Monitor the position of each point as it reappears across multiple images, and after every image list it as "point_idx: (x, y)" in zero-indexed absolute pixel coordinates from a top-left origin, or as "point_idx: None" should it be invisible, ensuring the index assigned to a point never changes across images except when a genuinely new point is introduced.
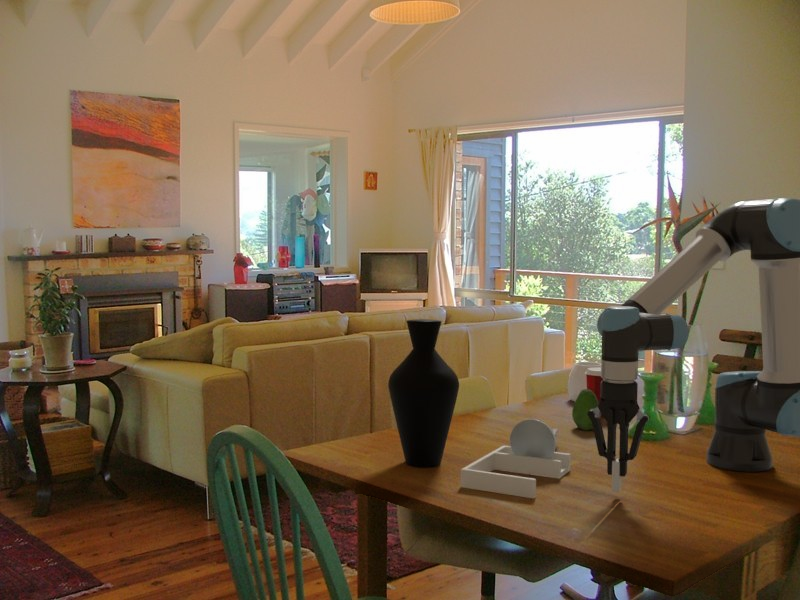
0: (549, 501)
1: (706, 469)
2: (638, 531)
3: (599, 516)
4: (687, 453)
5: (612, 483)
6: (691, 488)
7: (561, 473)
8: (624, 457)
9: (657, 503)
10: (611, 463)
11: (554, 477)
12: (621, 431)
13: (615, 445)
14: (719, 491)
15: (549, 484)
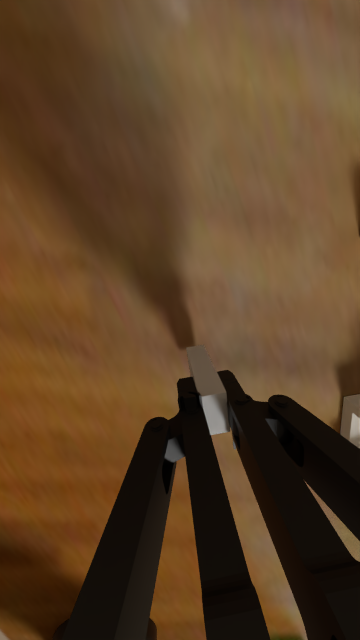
0: (320, 227)
1: None
2: (24, 118)
3: (169, 186)
4: (191, 628)
5: (206, 354)
6: (98, 493)
7: (349, 413)
8: (183, 417)
9: (104, 372)
10: (228, 392)
11: (355, 395)
12: (232, 566)
13: (248, 474)
14: (48, 507)
15: (353, 350)
